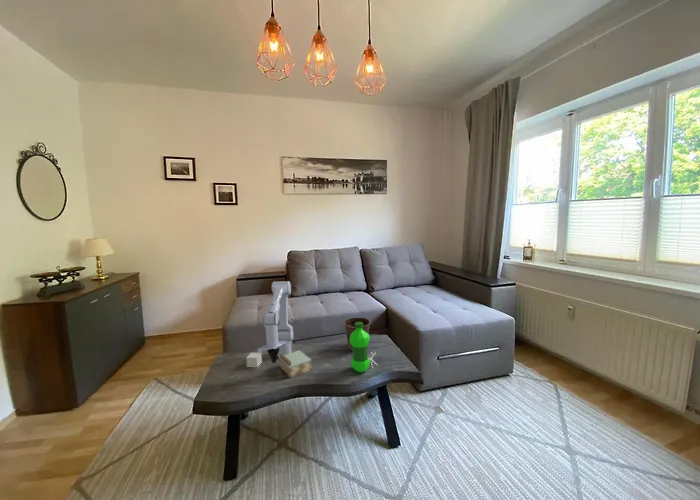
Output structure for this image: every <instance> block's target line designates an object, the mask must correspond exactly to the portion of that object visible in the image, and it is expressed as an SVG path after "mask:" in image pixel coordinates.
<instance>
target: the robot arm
mask: <svg viewBox="0 0 700 500" xmlns="http://www.w3.org/2000/svg"><path fill="white" fill-rule="evenodd" d="M271 292H272V301H270V302H269V303H268V307H267V310H266V313H265V314H264V315H263V317H262V322H263V325H264V329H265V336H266V337H265V339H266V344H265V345H263V346H261V347H258V348H257V353H264V352H267V353H268V355H269V357H270V359H271V364H275V363H276V364H277V357H278V358H279V357H280V354H281V353H282V354H283V355H286V354H289V353H292V352H293V351H292V340H293V339H294V327H293V326H292V325H291V324H289V316H288V315H289V313H288V311H289V309H288V305H289V303H288V301H289V300H288V299H289V298H288V297H289V296H290V295H291V293H292V284H291V282H290V281H289V280H288V281H286V280H285V281H273V282H272V283H271Z"/></svg>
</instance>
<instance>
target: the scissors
mask: <svg viewBox="0 0 700 500" xmlns="http://www.w3.org/2000/svg"><path fill="white" fill-rule="evenodd" d="M376 353H377V352H376V351H371V352H370V355H372V356H371V357H368V358H369V360H370V364H371V365H370V366H371V368H372V369H374V365H376V366H377V365H378V364H377V362H375V360H374V359H373V358H374V356H375V355H376ZM371 361H372V362H371ZM373 362H374V363H373ZM372 363H373V364H372ZM372 365H373V366H372Z"/></svg>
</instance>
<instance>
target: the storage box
mask: <svg viewBox="0 0 700 500" xmlns="http://www.w3.org/2000/svg"><path fill="white" fill-rule="evenodd" d="M278 359H279V358H278ZM278 361H279V369H281V370H282V371H283V372H284V373H285V374H286V375H287V376H288V377H289V378H290V379H292V378H295V377H297V376H300V375H303V374H306V373H308V372H311V371H312V370H313V369H312V368H313V367H312V364H313V363H312V360H311V361H310V362H307V363H304V364H301V365H298V366H296V367H293V368H289V367H288V366H287V365H286V364H285V363H284V362H283V361H282V360H281V359H279V360H278Z"/></svg>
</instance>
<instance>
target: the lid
mask: <svg viewBox="0 0 700 500" xmlns="http://www.w3.org/2000/svg"><path fill="white" fill-rule="evenodd" d="M278 359H281V360H282V361H283V362H284V363H285V364H286V365H287V366H288V367H289V368H293V367H296V366H298V365H301V364H304V363H307V362H310V361H311V362H312V359H311V358H310V357H309V356H307V355H306V354H305V353H304V352H303V351H301V350H295V351H292V353H289V354H286V355H283V354H282V353H281V354H280V357H278Z"/></svg>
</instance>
